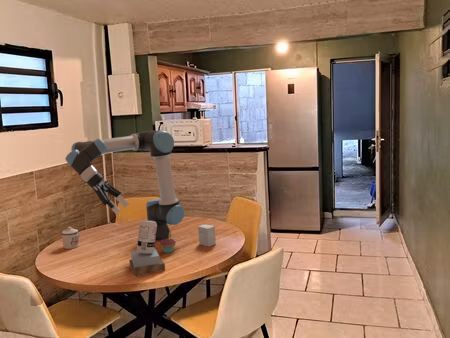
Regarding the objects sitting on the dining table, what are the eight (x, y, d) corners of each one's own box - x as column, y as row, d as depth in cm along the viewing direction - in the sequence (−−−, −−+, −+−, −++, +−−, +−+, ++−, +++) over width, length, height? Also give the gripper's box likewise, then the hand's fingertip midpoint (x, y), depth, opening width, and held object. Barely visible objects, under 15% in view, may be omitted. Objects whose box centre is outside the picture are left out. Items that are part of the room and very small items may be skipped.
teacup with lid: (72, 249, 249) (70, 229, 247) (59, 248, 252) (57, 228, 250) (86, 243, 260) (84, 223, 258) (73, 242, 263) (71, 223, 261)
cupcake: (178, 249, 241) (177, 228, 239) (171, 254, 233) (170, 232, 231) (164, 248, 244) (163, 227, 242) (157, 253, 236) (155, 231, 234)
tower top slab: (155, 256, 222) (155, 248, 221) (159, 263, 211) (159, 255, 210) (131, 259, 218) (130, 251, 217) (134, 267, 207) (133, 259, 206)
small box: (216, 244, 247) (215, 226, 245) (208, 247, 243) (208, 228, 241) (205, 241, 252) (205, 223, 251) (198, 244, 248) (197, 226, 247)
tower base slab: (157, 262, 224) (156, 254, 223) (165, 271, 211) (164, 263, 211) (129, 267, 218) (129, 259, 218) (136, 277, 206) (135, 268, 205)
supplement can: (135, 249, 216) (139, 219, 216) (152, 250, 218) (155, 220, 219) (137, 253, 208) (141, 221, 208) (154, 254, 211) (158, 223, 211)
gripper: (96, 178, 226) (125, 208, 227) (76, 186, 201) (109, 220, 202) (106, 168, 224) (135, 198, 226) (87, 175, 200) (120, 209, 201)
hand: (122, 209), depth 214 cm, fingers open, 13 cm apart
